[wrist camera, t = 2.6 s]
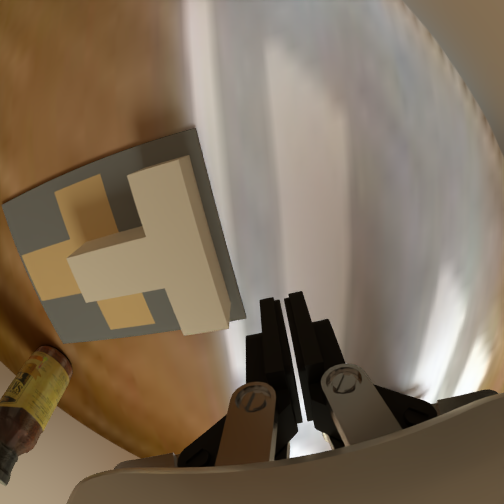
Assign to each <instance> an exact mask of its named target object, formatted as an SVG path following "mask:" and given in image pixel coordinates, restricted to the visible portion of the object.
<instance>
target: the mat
mask: <svg viewBox="0 0 504 504" xmlns="http://www.w3.org/2000/svg"><path fill="white" fill-rule="evenodd" d="M187 155H189V156H190V160H191V164H192V168H193V172H194V175H195V179H196V183H197V187H198V190H199V194H200V198H201V201H202V205H203V209H204V212H205V216H206V219H207V223H208V227H209V230H210V234H211V237H212V241H213V244H214V248H215V251H216V255H217V258H218V262H219V265H220V268H221V272H222V275H223V279H224V282H225V285H226V289H227V292H228V295H229V299H230V302H231V308H230V320H229V321H235V320H241V319H246V314H245V311H244V307H243V304H242V300H241V297H240V293H239V290H238V286H237V283H236V279H235V275H234V272H233V268H232V265H231V261H230V257H229V254H228V250H227V246H226V243H225V239H224V235H223V232H222V228H221V224H220V220H219V217H218V213H217V209H216V205H215V202H214V198H213V194H212V190H211V186H210V182H209V179H208V175H207V171H206V167H205V163H204V159H203V155H202V151H201V147H200V143H199V139H198V135H197V131H196V128H194V129H190V130H187V131H183V132H180V133H176V134H173V135H170V136H166V137H163V138H160V139H157V140H154V141H151V142H148V143H145V144H142V145H139V146H136V147H133V148H130V149H127V150H124V151H121V152H119V153H116V154H113V155H111V156H108V157H105V158H103V159H100V160H98V161H95V162H93V163H90V164H88V165H85V166H83V167H80V168H78V169H76V170H73V171H71V172H69V173H66V174H64V175H62V176H60V177H57V178H55V179H53V180H51V181H49V182H46V183H44V184H42V185H40V186H38V187H36V188H34V189H32V190H30V191H28V192H26V193H24V194H22V195H20V196H18V197H16V198H14V199H12V200H10V201H9V202H7V203H5V204H3V205H2V208H3V211H4V214H5V217H6V220H7V223H8V226H9V229H10V231H11V234H12V237H13V240H14V242H15V245H16V247H17V250H18V253H19V255H20V257H21V260H22V262H23V265H24V267H25V269H26V272H27V274H28V276H29V278H30V281H31V283H32V285H33V287H34V289H35V291H36V293H37V295H38V297H39V300H40V302H41V304H42V305H43V307H44V309H45V311H46V313H47V315H48V317H49V319H50V321H51V323H52V324H53V326H54V328H55V330H56V332H57V333H58V335H59V337H60V339H61V340H62V342H63V344H64V343H75V342H86V341H96V340H105V339H114V338H122V337H131V336H138V335H146V334H153V333H161V332H168V331H174V330H181V327H180V325H179V323H178V320H177V318H176V315H175V313H174V311H173V308H172V306H171V303H170V301H169V298H168V295H167V293H166V290H165V288H163V289H158V290H153V291H148V292H142V293H137V294H132V295H127V296H121V297H116V298H110V299H105V300H99V301H94V302H88V303H86V302H85V299H84V297H83V295H82V293H81V291H80V289H79V287H78V284H77V282H76V280H75V278H74V275H73V273H72V271H71V268H70V266H69V264H68V261H67V259H66V258H67V257H69V256H70V255H71V254H72V253H73V252H75V251H76V250H77V249H78V248H79V247H81V246H82V245H83V244H84V243H85V242H87V241H90V240H94V239H97V238H101V237H104V236H108V235H111V234H115V233H118V232H122V231H126V230H129V229H133V228H137V227H140V226H142V223H141V220H140V217H139V214H138V211H137V208H136V204H135V201H134V198H133V195H132V191H131V188H130V185H129V181H128V178H127V175H129V174H132V173H134V172H136V171H139V170H141V169H143V168H146V167H149V166H153V165H156V164H159V163H162V162H166V161H169V160H173V159H176V158H180V157H183V156H187Z"/></svg>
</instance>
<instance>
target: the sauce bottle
mask: <svg viewBox="0 0 504 504" xmlns="http://www.w3.org/2000/svg"><path fill="white" fill-rule="evenodd" d="M72 372H73V371H72V366H71V364H70V362H69V360H68V359H67V358H66V357H65V356H64V355H63V354H62V353H61V352H59V351H58V350H57V349H55V348H53V347H50V346H40V347H39V348H38V349H36V351H35V352H34V353H33V354H32V355H31V356H30V358H29V359H28V360H27V362H26V363H25V364H24V366H23V367H22V369H21V370H20V371H19V373H18V374H17V376H16V377H15V379H14V380H13V381H12V383H11V384H10V386H9V387H8V389H7V390H6V392H5V393H4V395H3V396H2V398H1V400H0V483H1V484H3V485H7V484H8V482H9V479H10V473H11V471H12V469H13V466H14V464H15V462H17V460H18V456H19V455H21V454H23V453H27V452H29V451H30V450H32V449H33V448H34V446H35V445H36V443H37V440H38V438H39V436H40V434H41V433H42V432H43V431H44V428H45V427H46V425H47V423H48V421H49V419H50V417H51V415H52V413H53V411H54V409H55V408H56V406H57V404H58V402H59V400H60V398H61V397H62V395H63V393H64V391H65V389H66V387H67V386H68V384H69V380H70V379H71V377H72V374H73V373H72Z"/></svg>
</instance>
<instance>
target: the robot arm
mask: <svg viewBox="0 0 504 504" xmlns="http://www.w3.org/2000/svg"><path fill="white" fill-rule="evenodd" d="M284 302H285V307H286V312H287V317H288V322H289V327H290V332H291V337H292V342H293V347H294V352H295V357H296V363H297V368H298V373H299V378H300V384H301V389H302V394H303V399H304V405H305V410H306V416H307V421H312V420H313V421H314V426H315V428H316V429H317V430H319V431H321V432H322V434H323V438H324V439H325V440H326V441H327V442H328V443H329V444H330V446H331V449H332V450H330V451H325V452H321V453H316V454H311V455H306V456H300V457H294V458H289V455H290V440H291V439H292V438H293V437H294V436H295V435H296V433H297V432H298V427H297V423H302V422H303V421H302V415H301V409H300V403H299V398H298V392H297V386H296V380H295V375H294V369H293V363H292V358H291V353H290V348H289V343H288V338H287V333H286V328H285V323H284V319H283V314H282V309H281V304H280V300H275V301H274V298H273V297H271V298H267V299H262V300H260V312H261V325H262V333H259V334H253V335H248V336H246V384H244V385H242V386H241V387H239V388H238V389H237V390H236V391H235V392H234V393H233V394H232V397H231V399H230V403H229V408H228V412H227V414H226V415H225V416H224V417H223V418H222V419H221V420H219V421H218V422H217V423H216V424H215V425H213V426H212V427H211V428H210V429H209V430H207V431H206V432H205V433H204V434H203V435H201V436H200V437H199V438H198V439H196V440H195V441H194V442H193V443H191V444H190V445H189V446H188V447H186V448H185V449H184V450H183V451H182V452H181V454H178V455H174V453H169V454H164V455H159V456H153V457H148V458H142V459H136V460H129V461H124V462H121V463H119V464H118V465H117V466H116V467H115V468H114V469H113V470H108V471H104V472H100V473H96V474H94V475H91V476H89V477H86V478H85V479H83V480H82V481H80V482H79V483H78V484H77V485H76V487H75V488H74V490H73V491H72V493H71V495H70V497H69V499H68V502H67V504H504V393H500V394H498V393H497V392H496V391H493V390H481V391H477V392H473V393H469V394H465V395H460V396H456V397H451V398H446V399H441V400H437V403H435V404H430V403H428V402H426V401H423V400H420V399H417V398H414V397H410V396H407V395H404V394H401V393H398V392H395V391H392V390H389V389H386V388H383V387H380V386H377V385H374V384H373V383H372V382H371V380H370V379H369V377H368V376H367V374H366V373H365V371H364V370H363V369H362V368H360V367H359V366H357V365H353V364H346V363H345V361H344V358H343V355H342V353H341V350H340V347H339V345H338V342H337V339H336V337H335V334H334V331H333V329H332V326H331V324H330V321H329V319H325V320H321V321H316V322H312V321H311V318H310V315H309V311H308V308H307V305H306V302H305V299H304V295H303V292H302V291H300V292H295V293H290V294H289V298H285V299H284Z"/></svg>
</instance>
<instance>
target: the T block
mask: <svg viewBox="0 0 504 504" xmlns="http://www.w3.org/2000/svg"><path fill="white" fill-rule="evenodd" d="M127 178H128V181H129V185H130V188H131V191H132V195H133V198H134V201H135V204H136V208H137V211H138V214H139V217H140V220H141V223H142V226H140V227H137V228H133V229H129V230H126V231H122V232H118V233H115V234H111V235H108V236H104V237H101V238H97V239H94V240H90V241H87V242H85V243H84V244H83V245H82V246H81V247H79V248H78V249H77V250H76V251H75V252H73V253H72V254H71V255H70V256H69V257H67V258H66V259H67V261H68V264H69V266H70V268H71V271H72V273H73V275H74V278H75V280H76V282H77V284H78V287H79V289H80V291H81V293H82V295H83V297H84V299H85V302H86V303H88V302H94V301H99V300H105V299H110V298H116V297H121V296H127V295H132V294H137V293H142V292H148V291H153V290H158V289H163V288H165V290H166V293H167V295H168V298H169V301H170V303H171V306H172V308H173V311H174V313H175V315H176V318H177V320H178V323H179V325H180V327H181V330H182V332H183V335H184V336H186V335H192V334H199V333H205V332H211V331H217V330H223V329H229V320H230V308H231V302H230V299H229V295H228V292H227V289H226V285H225V282H224V279H223V275H222V272H221V268H220V265H219V262H218V258H217V255H216V251H215V248H214V244H213V241H212V237H211V234H210V230H209V227H208V223H207V219H206V216H205V212H204V209H203V205H202V201H201V198H200V194H199V190H198V187H197V183H196V179H195V175H194V172H193V168H192V164H191V160H190V156H189V155H187V156H183V157H180V158H176V159H173V160H169V161H166V162H162V163H159V164H156V165H153V166H149V167H146V168H143V169H141V170H139V171H136V172H134V173H132V174H129V175H127Z"/></svg>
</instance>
